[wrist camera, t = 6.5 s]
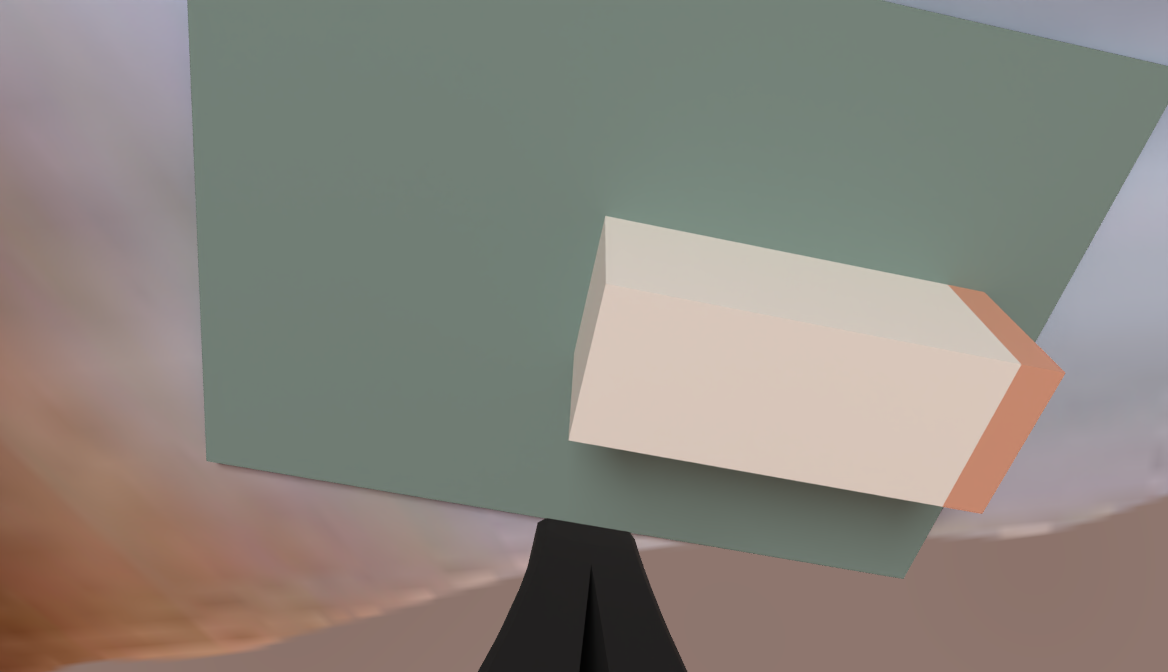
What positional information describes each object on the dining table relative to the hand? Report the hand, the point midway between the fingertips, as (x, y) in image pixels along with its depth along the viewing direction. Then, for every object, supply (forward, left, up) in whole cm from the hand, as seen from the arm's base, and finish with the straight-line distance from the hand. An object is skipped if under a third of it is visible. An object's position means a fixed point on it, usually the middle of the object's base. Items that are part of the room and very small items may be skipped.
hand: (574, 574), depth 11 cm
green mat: (+1, 0, -10) cm, 10 cm away
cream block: (0, 0, -8) cm, 8 cm away
